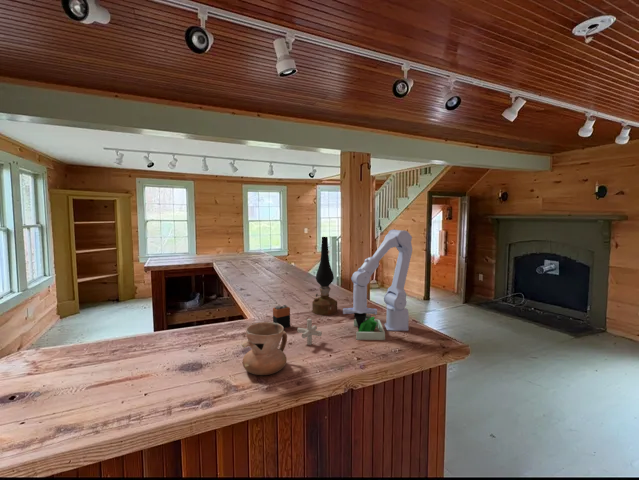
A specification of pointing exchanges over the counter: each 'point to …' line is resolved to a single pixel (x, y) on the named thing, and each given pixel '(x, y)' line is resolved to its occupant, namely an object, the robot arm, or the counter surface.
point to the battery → (282, 315)
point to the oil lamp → (324, 284)
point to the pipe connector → (309, 331)
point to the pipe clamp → (368, 325)
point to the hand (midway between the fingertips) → (359, 329)
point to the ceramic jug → (265, 348)
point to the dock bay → (371, 333)
